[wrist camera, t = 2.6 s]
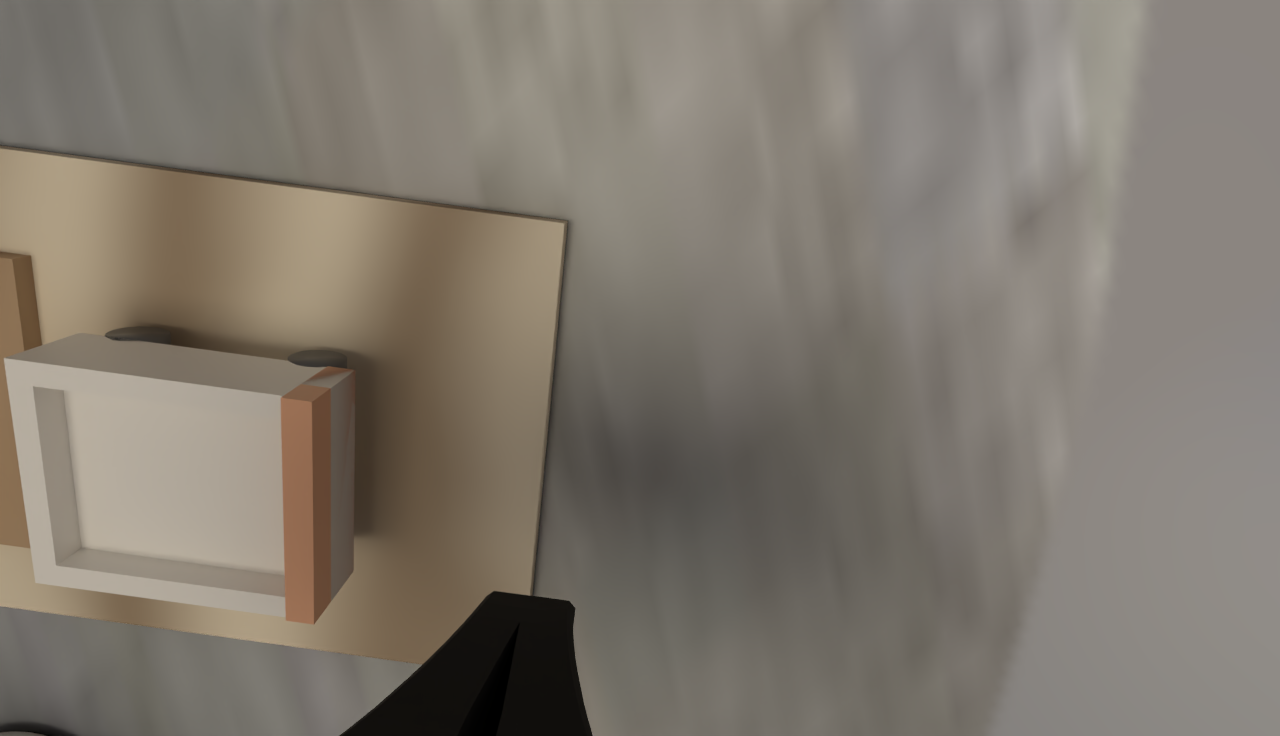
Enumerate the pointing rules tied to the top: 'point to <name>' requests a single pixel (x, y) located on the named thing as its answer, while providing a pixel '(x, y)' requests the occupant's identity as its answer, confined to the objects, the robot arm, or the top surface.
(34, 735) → the drinking glass
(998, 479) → the top surface
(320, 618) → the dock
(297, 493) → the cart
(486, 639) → the robot arm
